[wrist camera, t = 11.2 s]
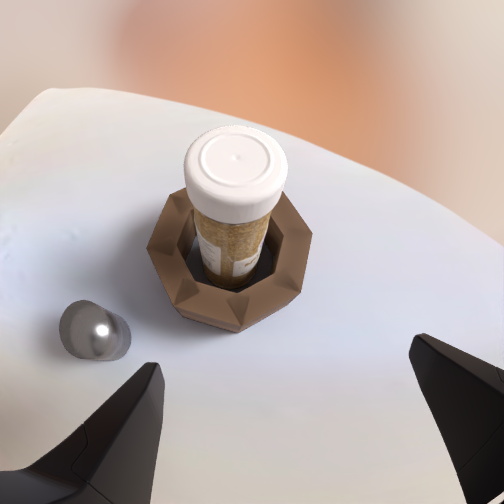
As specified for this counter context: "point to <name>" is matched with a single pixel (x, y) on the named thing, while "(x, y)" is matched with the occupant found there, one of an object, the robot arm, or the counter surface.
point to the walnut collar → (218, 300)
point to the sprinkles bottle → (233, 198)
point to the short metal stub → (94, 332)
